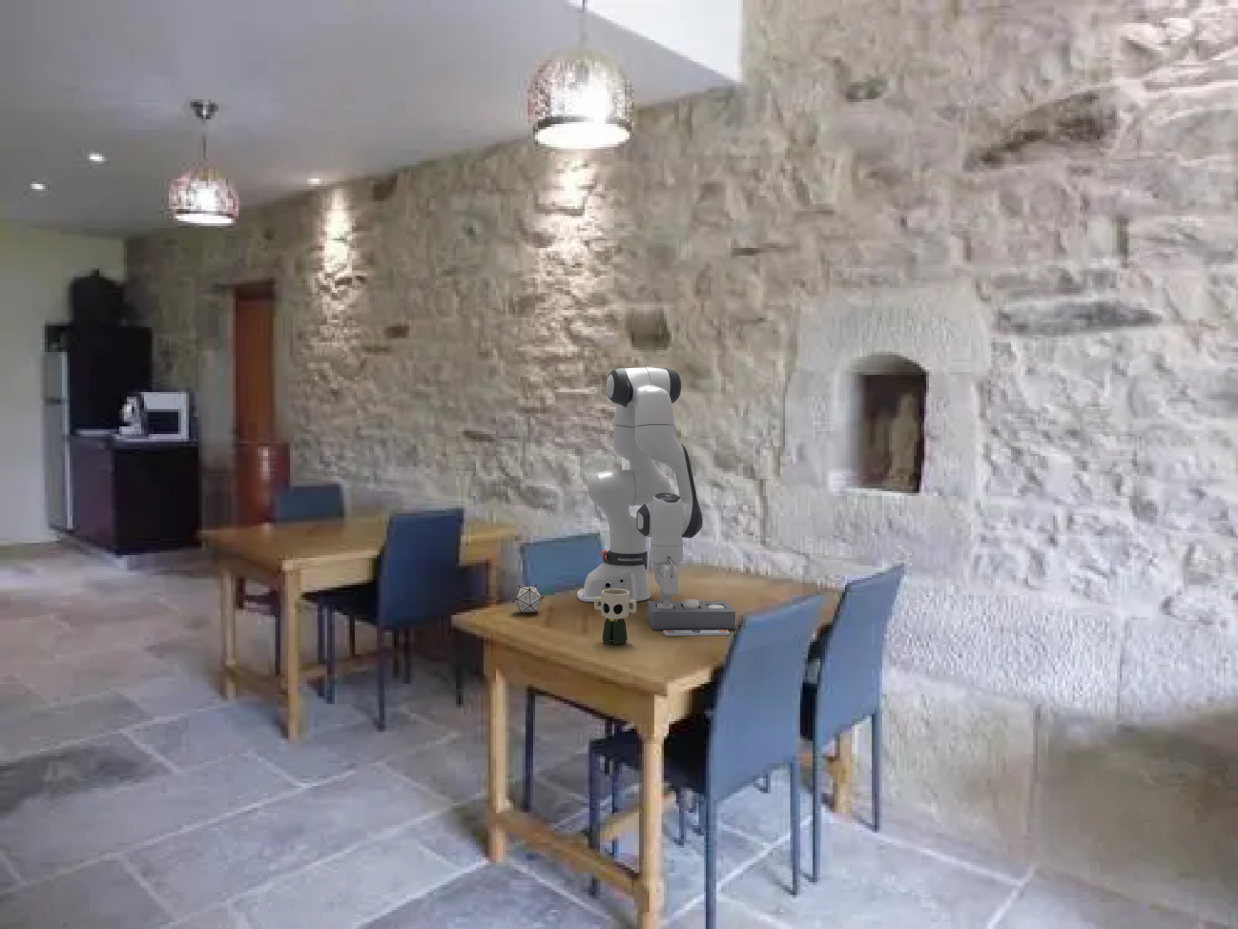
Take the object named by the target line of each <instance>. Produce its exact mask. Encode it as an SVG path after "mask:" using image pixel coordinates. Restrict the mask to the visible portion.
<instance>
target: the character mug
mask: <svg viewBox="0 0 1238 929" xmlns="http://www.w3.org/2000/svg"><path fill="white" fill-rule="evenodd" d="M598 601H601V602H600V605H599V602H598ZM637 602H638V601H637ZM637 602H636V600H630V592H629V591H628V590H625V589H605V590H602V593H601V597H595V599H594V602H593V603H594V610H597V611H600V614H601V617H603V618H605V620H604V624H603V630H602V638H601V640H602V641H603V642H604V643H607V644H610V643H611V642H612V643H613V645H614V644H615V645H616V644H617V645H618V644H619V645H620V644H624V643H626V641H627V640H628V635H627V634H628V633H627V625H626V618H628V617H629V614H630V613H632V614H636V613H637V604H638V603H637ZM630 604H632V608H630Z"/></svg>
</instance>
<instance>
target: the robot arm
mask: <svg viewBox="0 0 1238 929" xmlns="http://www.w3.org/2000/svg"><path fill="white" fill-rule="evenodd" d="M605 388H606V394H607V398H608V399H609V401H611V403H614V404H616V407H615V413H614V414H615V415H614V426H613V428H614V429H613V442H612V443H613V445H612V446H613V450H614V451H615V453H616V454H617V455H618V456H619V457H622V458H623V459H625V460H627V461H628V462H629V465H630V466H629V469H614V470H613V469H608V470H603V471H599V472H595V473H593V475H591V477H590V478H589V481H588V484H587V494H588V497H589V498H590V500H591V501H592V503H593V504H594V505H595V506H597V507H598V508H599V509H600V510H601V512H602V513H604V515H605V518H606V520H607V523H608V526H609V527H608V528H609V542H610V543H609V548H610V549H609V550H608V551H607V550H606V549H602V551H601V553H600V554H601V556H602V559H603V560H602V561H603V562H602V563H601V564H600V565H598V566H597V567H596V568H595V569H593V570H592V571H590V572H589V573H588V574H587V576H586V578H585V581H584V587H583V588H580V589H579V590H577V593H576V597H577V599H579V600H580V601H582V602H589V603H594V599H595V597H601V593H602V590H605V589H625V590H628V591H629V592H630V600H636V602H640V601H645V600H646V601H647V600H649V599H650V598H651V597H652V596H651V593H650V588H649V583H648V582H649V581H648V574H647V573H648V572H647V570H648V564H649V561H650V562H652V563H653V575H654V580H655V582H656V584H657V585H658V586H659V588H660V593H661V594H660V595H661V601H662V604H663V606H669V605H670V601H671V596H677V595H678V594H679V593H678V592H679V570H678V567H679V563H682V562H683V561H684V540H683V539H692V538H694V537H695V536H696V535H698V533H699V532H701V530H702V528H703V523H704V521H703V514H702V513H703V512H702V509H701V506H700V504H699V500H698V496H697V491H696V485H695V481H694V475H693V470H692V465H691V460H690V457H689V453H688V451H687V448H686V447H685V445H683V444H681V443H680V442H679V439H678V438H677V435H676V430H675V417H674V410H673V404H674V403H676V402H677V401H678V399H679V398H680V397H681V392H682V380H681V377H680V375H679V373H678V372H677V371H676V370H675V369H671V368H659V367H651V366H643V367H628V368H625V367H618V368H615V369H612V370H611V371H610V372H609V373H608V375H607V379H606V383H605ZM655 461H657V462H660V463H662V464H664V465H666V466H668V467H669V468H670V469H671V470H672V471H673V472H674V475H675V480H676V484H677V489H678V494H679V495H677V494H675V493H671V492H670V491H671V483H670V481H669V480H670V479H669V478H668V476H667V474H665V472H663V471H662V470H661V469H660V468H659V466H657V464H656V462H655ZM631 506H633V507H637V506H638V507H639V508H638V509H637V511H636V517H635V516H633V515H631V512H630V507H631ZM647 537H648V538H651V539H650V545H649V553H650V554H648V551H647ZM598 603H601V601H598Z"/></svg>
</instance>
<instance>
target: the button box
mask: <svg viewBox="0 0 1238 929" xmlns="http://www.w3.org/2000/svg"><path fill="white" fill-rule="evenodd" d="M659 603H662V600H658V601H657V600H647V617H646V618H647V621H648V624H649V626H650V627H651V630H652V631H663V630H728V631H735V630H736V610H735V609H734V608H733V607H732V606H731V604H729V602H728V601H727V600H699V608H691V609H683V600H670V604H673V609H657V604H659ZM709 605H723V606H724V608H708V606H709ZM734 629H735V630H734Z"/></svg>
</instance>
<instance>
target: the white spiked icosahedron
mask: <svg viewBox="0 0 1238 929" xmlns="http://www.w3.org/2000/svg"><path fill="white" fill-rule="evenodd" d="M537 586H538V584H535V585H534V586H520V585H519V584H518V586H517V587H518V590H517V594H516V597H514V599H513V600H511V602H512V603H515V605H516V607H517V608H518V610H519V613H518V615H519V614H520V615H522V613H535V614H537V615H539V612H538V610H539V607H540V604H541V601H542V600H543V599H545V597H544V596H542V595H541V594H540V592H539V591H538V589H537Z"/></svg>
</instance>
